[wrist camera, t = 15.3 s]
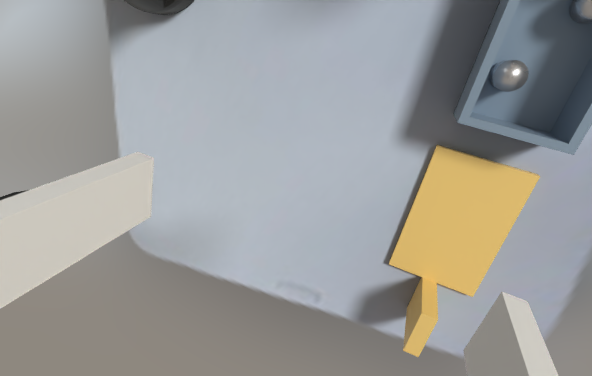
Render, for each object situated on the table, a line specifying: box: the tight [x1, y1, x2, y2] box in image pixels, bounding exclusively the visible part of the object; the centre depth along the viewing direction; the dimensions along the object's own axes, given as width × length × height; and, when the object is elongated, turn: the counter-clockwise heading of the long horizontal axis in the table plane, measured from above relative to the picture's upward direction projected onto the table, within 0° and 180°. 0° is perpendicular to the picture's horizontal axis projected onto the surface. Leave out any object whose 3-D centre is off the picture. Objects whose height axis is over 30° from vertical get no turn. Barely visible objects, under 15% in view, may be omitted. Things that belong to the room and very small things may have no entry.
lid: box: [389, 145, 540, 357], centre depth 40 cm, size 11×23×8 cm, turn 166°
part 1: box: [489, 60, 529, 92], centre depth 33 cm, size 3×3×3 cm
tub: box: [454, 0, 592, 155], centre depth 31 cm, size 10×16×6 cm, turn 166°
